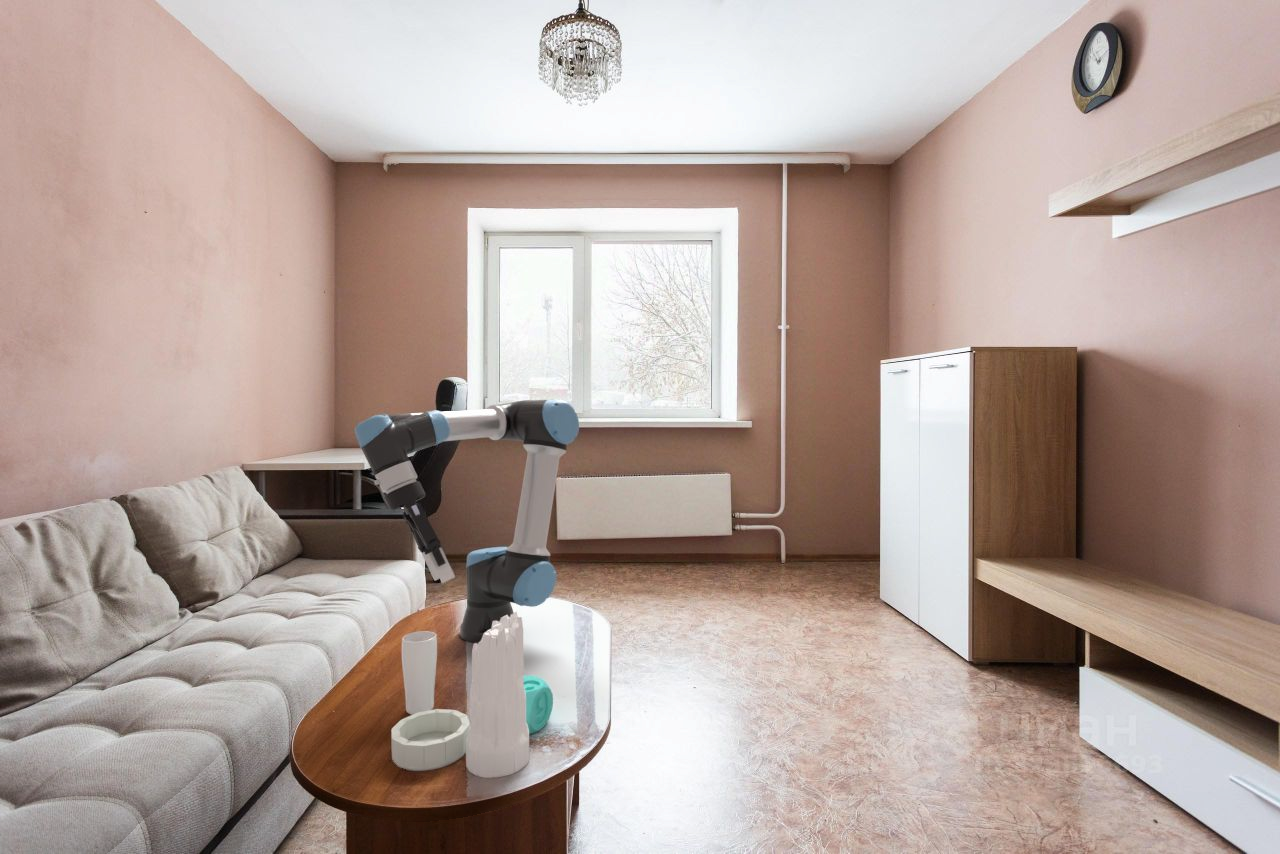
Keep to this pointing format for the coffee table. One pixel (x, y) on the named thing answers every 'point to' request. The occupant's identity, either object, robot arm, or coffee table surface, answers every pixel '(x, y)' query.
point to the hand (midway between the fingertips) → (444, 579)
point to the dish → (429, 739)
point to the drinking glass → (419, 670)
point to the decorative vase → (498, 702)
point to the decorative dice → (537, 702)
